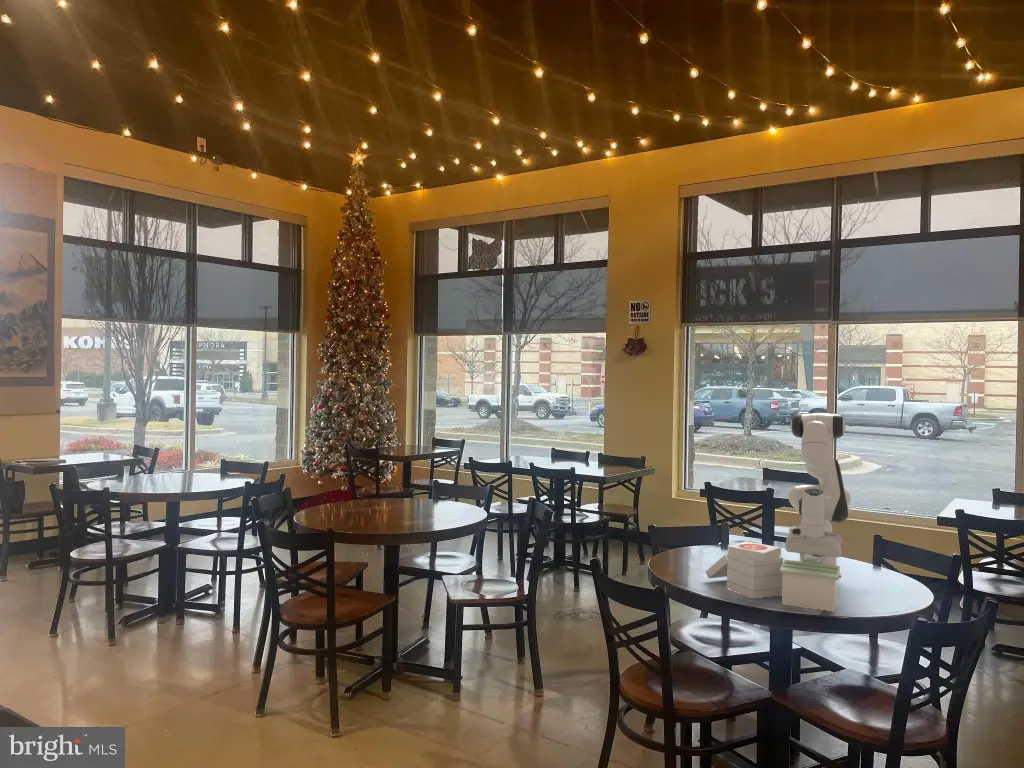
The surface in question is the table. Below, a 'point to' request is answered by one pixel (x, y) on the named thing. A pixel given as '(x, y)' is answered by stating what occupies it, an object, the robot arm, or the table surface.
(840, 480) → the robot arm
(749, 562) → the pizza boxes
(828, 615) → the table surface
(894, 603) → the table surface
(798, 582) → the tub
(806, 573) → the lid
